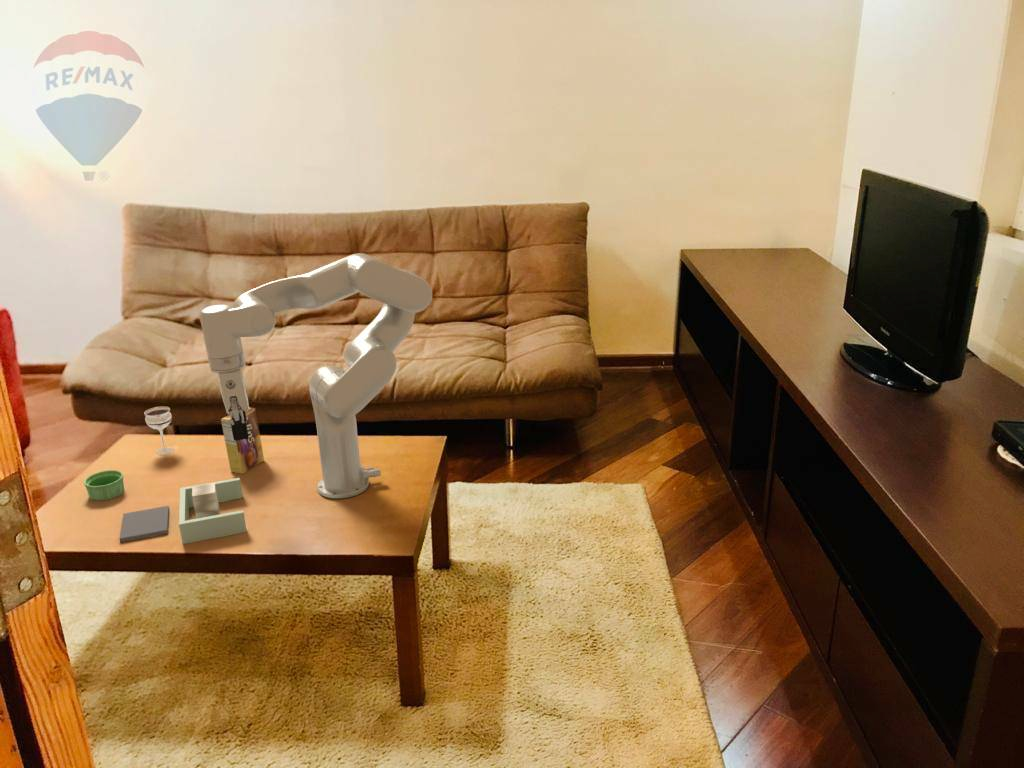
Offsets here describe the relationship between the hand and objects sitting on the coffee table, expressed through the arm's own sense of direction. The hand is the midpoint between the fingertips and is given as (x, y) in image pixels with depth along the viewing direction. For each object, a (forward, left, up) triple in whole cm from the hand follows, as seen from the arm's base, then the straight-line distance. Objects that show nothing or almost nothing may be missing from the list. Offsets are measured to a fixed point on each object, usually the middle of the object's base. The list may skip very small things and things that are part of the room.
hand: (240, 430), depth 193 cm
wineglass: (+21, -44, -21) cm, 54 cm away
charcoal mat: (+24, -2, -21) cm, 32 cm away
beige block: (+10, +1, -21) cm, 23 cm away
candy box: (0, -25, -21) cm, 33 cm away
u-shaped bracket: (+9, +1, -21) cm, 23 cm away
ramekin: (+34, -23, -21) cm, 46 cm away
